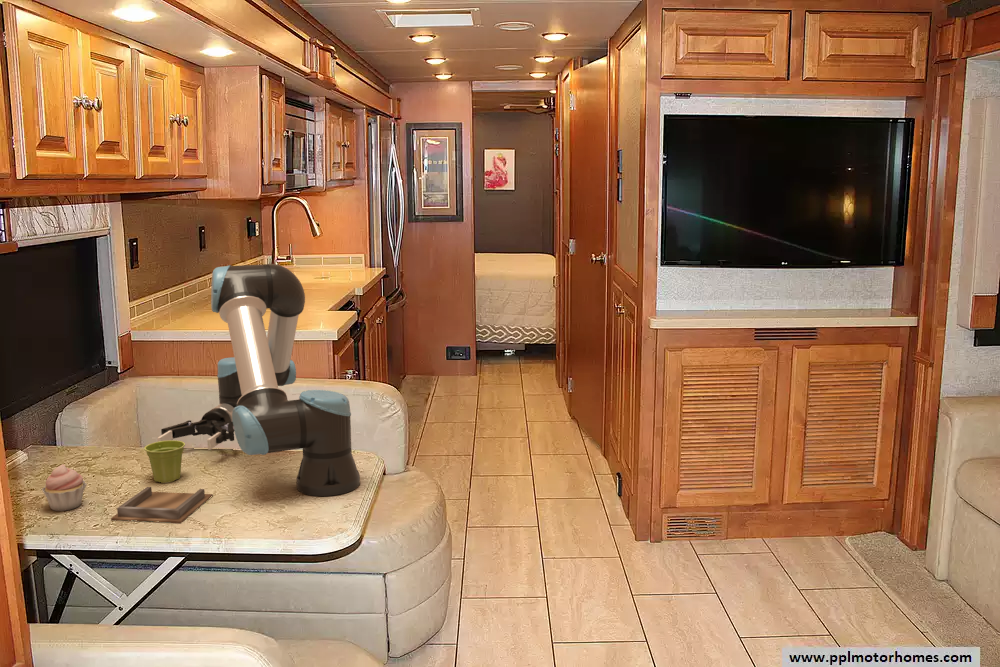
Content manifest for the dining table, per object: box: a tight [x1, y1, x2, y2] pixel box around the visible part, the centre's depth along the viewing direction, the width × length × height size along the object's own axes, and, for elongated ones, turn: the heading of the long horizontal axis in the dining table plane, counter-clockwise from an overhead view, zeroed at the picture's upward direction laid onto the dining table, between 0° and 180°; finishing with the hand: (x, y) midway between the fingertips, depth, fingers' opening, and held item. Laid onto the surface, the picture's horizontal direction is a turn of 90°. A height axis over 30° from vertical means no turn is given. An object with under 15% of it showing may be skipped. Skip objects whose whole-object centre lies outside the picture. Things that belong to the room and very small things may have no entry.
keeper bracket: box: [110, 486, 214, 524], centre depth 195 cm, size 16×16×2 cm
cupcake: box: [41, 464, 88, 512], centre depth 196 cm, size 9×9×10 cm
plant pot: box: [143, 439, 186, 484], centre depth 213 cm, size 9×9×9 cm
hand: (183, 443), depth 222 cm, fingers open, 13 cm apart
